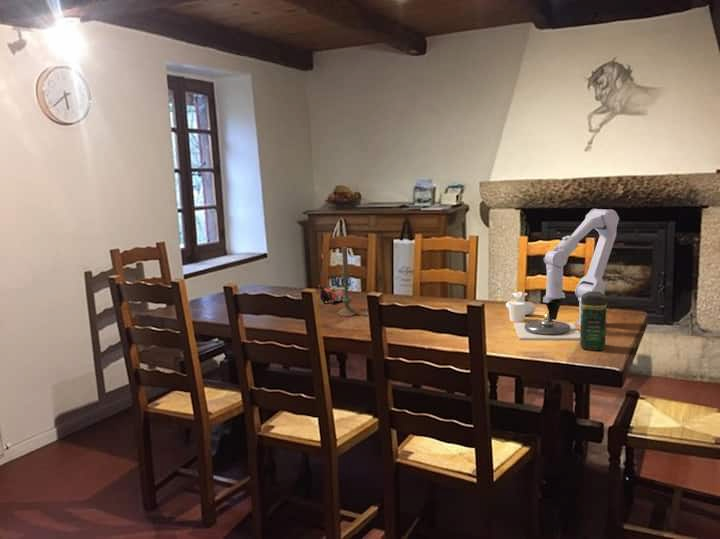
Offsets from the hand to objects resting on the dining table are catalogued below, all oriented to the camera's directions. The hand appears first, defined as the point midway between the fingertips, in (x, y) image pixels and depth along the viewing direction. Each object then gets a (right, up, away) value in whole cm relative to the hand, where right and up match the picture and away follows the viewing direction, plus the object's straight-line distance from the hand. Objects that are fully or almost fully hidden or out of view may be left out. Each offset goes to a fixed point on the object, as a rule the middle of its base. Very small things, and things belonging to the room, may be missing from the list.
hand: (553, 319), depth 231 cm
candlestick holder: (-77, -1, +40) cm, 87 cm away
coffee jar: (+6, -8, -24) cm, 26 cm away
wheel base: (-3, -5, -3) cm, 6 cm away
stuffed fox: (-85, +3, +68) cm, 109 cm away
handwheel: (-3, -3, -3) cm, 5 cm away
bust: (-6, -1, +26) cm, 26 cm away
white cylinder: (-9, -2, +17) cm, 20 cm away
